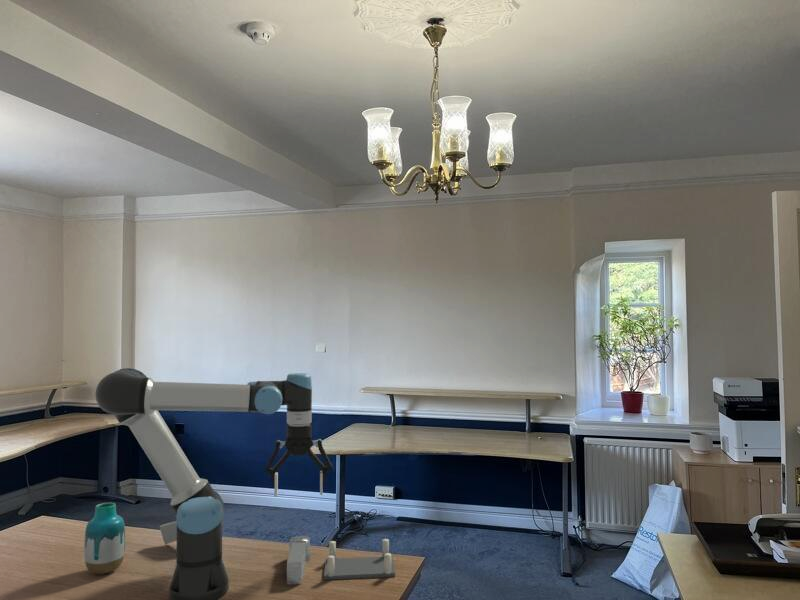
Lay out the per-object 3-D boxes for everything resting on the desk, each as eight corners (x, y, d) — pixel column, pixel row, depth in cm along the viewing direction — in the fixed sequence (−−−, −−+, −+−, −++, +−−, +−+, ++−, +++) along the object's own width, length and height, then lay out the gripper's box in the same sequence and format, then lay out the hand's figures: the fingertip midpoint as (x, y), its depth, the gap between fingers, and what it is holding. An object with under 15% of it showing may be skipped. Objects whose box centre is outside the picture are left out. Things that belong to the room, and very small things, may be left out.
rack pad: (323, 580, 162) (323, 558, 162) (325, 561, 175) (325, 541, 175) (395, 577, 164) (395, 555, 164) (392, 558, 177) (391, 538, 177)
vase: (132, 566, 173) (133, 500, 174) (106, 581, 163) (106, 512, 164) (103, 562, 176) (104, 498, 177) (75, 577, 166) (76, 509, 166)
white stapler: (167, 556, 186) (204, 543, 182) (158, 526, 188) (194, 512, 184) (175, 552, 190) (211, 538, 186) (166, 522, 192) (202, 508, 188)
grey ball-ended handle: (305, 583, 160) (305, 561, 160) (283, 584, 160) (283, 562, 160) (310, 554, 180) (310, 535, 180) (290, 555, 180) (290, 536, 180)
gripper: (256, 427, 173) (255, 499, 172) (340, 425, 176) (340, 496, 175) (259, 423, 180) (258, 492, 179) (339, 421, 183) (339, 489, 182)
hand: (298, 494), depth 177 cm, fingers open, 13 cm apart
